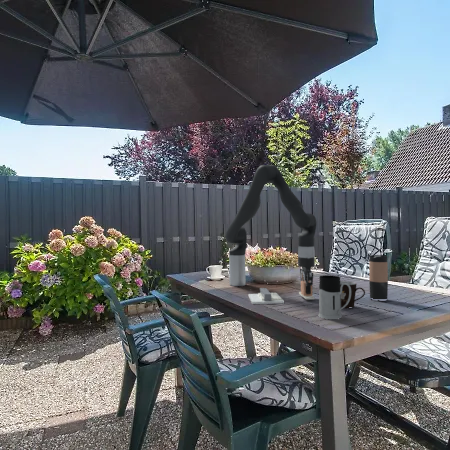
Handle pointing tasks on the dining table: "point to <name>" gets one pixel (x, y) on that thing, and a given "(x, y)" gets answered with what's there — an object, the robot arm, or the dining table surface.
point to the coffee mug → (346, 293)
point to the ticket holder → (265, 297)
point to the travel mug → (378, 276)
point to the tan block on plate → (303, 291)
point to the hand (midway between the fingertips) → (306, 292)
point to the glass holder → (331, 297)
